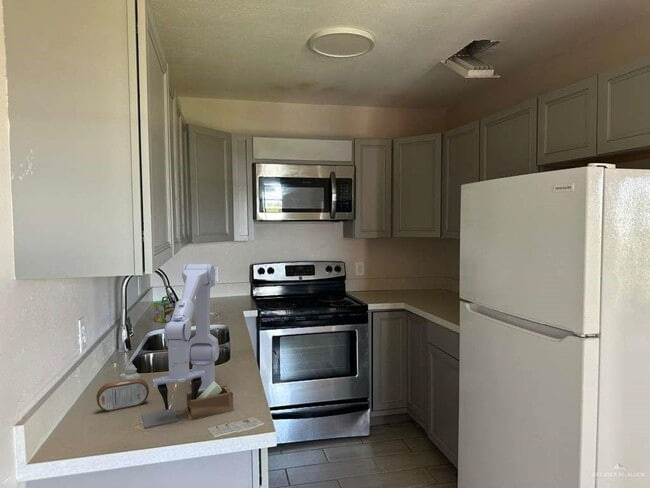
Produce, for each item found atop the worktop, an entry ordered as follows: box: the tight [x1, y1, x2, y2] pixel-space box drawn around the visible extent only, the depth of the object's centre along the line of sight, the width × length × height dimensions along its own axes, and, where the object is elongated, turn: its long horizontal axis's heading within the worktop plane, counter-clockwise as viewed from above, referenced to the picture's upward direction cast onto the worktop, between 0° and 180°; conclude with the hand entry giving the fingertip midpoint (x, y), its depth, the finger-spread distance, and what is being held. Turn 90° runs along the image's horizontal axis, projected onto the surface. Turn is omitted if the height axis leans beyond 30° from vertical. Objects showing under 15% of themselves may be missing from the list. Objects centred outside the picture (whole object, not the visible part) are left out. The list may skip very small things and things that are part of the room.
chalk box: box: [153, 295, 176, 324], centre depth 252 cm, size 9×9×15 cm
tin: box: [95, 378, 150, 412], centre depth 133 cm, size 15×3×8 cm, turn 118°
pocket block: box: [184, 385, 234, 421], centre depth 130 cm, size 7×13×5 cm, turn 118°
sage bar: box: [197, 380, 222, 399], centre depth 130 cm, size 4×10×2 cm
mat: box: [141, 407, 179, 429], centre depth 125 cm, size 9×9×1 cm
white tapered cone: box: [119, 362, 141, 381], centre depth 153 cm, size 5×7×8 cm
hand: (180, 405), depth 126 cm, fingers open, 7 cm apart
